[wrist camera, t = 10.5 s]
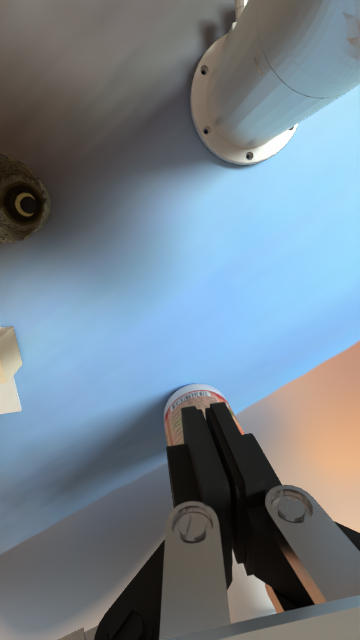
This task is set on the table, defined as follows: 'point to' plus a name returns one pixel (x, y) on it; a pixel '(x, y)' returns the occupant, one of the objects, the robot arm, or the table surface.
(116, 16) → the table surface
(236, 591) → the fruit juice
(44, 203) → the cup
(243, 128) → the robot arm
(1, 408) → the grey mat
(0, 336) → the maple block
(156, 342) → the table surface
